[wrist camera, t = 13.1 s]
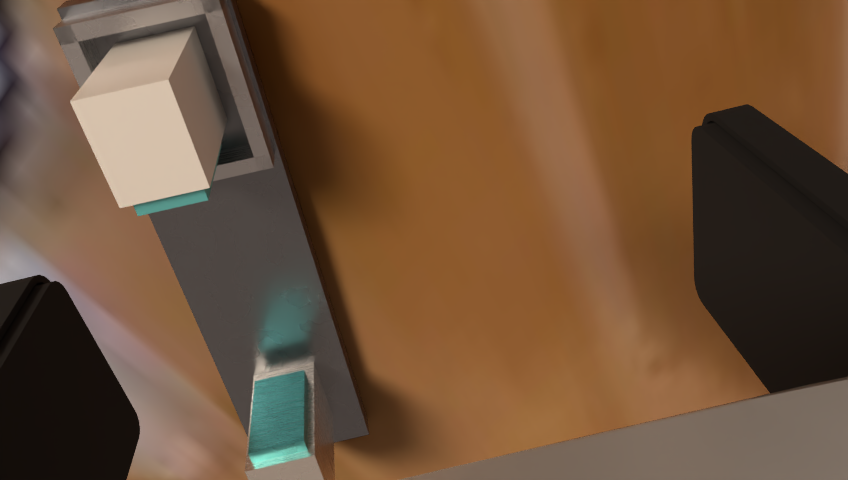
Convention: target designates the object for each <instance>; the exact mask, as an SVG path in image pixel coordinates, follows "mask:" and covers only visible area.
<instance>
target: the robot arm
mask: <svg viewBox="0 0 848 480" xmlns="http://www.w3.org/2000/svg"><path fill="white" fill-rule="evenodd" d="M692 185H693V234H694V279H695V286H696V290H697V293H698V296H699V298H700V300H701V302H702V303H703V305H704V306H705V307H706V309H707V310H708V311H709V313H710V314H711V315H712V317H713V318H714V319H715V321H716V322H717V323H718V325H719V326H720V327H721V329H722V330H723V331H724V332H725V334H726V335H727V336H728V338H729V339H730V340H731V342H732V343H733V344H734V346H735V347H736V348H737V350H738V351H739V352H740V354H741V355H742V356H743V358H744V359H745V360H746V362H747V363H748V364H749V366H750V367H751V368H752V370H753V371H754V372H755V374H756V375H757V376H758V378H759V379H760V380H761V382H762V383H763V384H764V385H765V387H766V388H767V389H768V391H769V392H770V394H766V395H762V396H757V397H753V398H749V399H744V400H740V401H736V402H731V403H727V404H723V405H718V406H714V407H710V408H705V409H701V410H697V411H692V412H688V413H684V414H679V415H675V416H671V417H666V418H662V419H658V420H653V421H649V422H645V423H640V424H636V425H632V426H627V427H623V428H619V429H614V430H610V431H606V432H601V433H597V434H593V435H588V436H584V437H580V438H576V439H571V440H567V441H563V442H558V443H554V444H550V445H546V446H541V447H537V448H533V449H529V450H524V451H520V452H516V453H512V454H507V455H503V456H499V457H494V458H490V459H486V460H482V461H477V462H473V463H469V464H465V465H460V466H456V467H452V468H448V469H443V470H439V471H435V472H431V473H426V474H422V475H418V476H414V477H409V478H405V479H401V480H848V174H847V173H846V172H844V171H843V170H842V169H840V168H839V167H837V166H836V165H835V164H833V163H832V162H830V161H829V160H827V159H826V158H825V157H823V156H822V155H820V154H819V153H818V152H816V151H815V150H813V149H812V148H810V147H809V146H808V145H806V144H805V143H803V142H802V141H801V140H799V139H798V138H796V137H795V136H793V135H792V134H791V133H789V132H788V131H786V130H785V129H784V128H782V127H781V126H779V125H778V124H776V123H775V122H774V121H772V120H771V119H769V118H768V117H766V116H765V115H764V114H762V113H761V112H759V111H758V110H757V109H755V108H754V107H752V106H750V105H748V104H746V105H742V106H738V107H734V108H730V109H726V110H722V111H717V112H713V113H709V114H707V115H706V116H705V117H704V120H703V123H702V126H698V127H695V128H694V129H693V132H692ZM139 434H140V426H139V420H138V416H137V414H136V412H135V410H134V408H133V406H132V405H131V403H130V401H129V399H128V398H127V396H126V394H125V392H124V391H123V389H122V387H121V385H120V384H119V382H118V380H117V378H116V377H115V375H114V373H113V371H112V370H111V368H110V366H109V364H108V362H107V361H106V359H105V357H104V355H103V354H102V352H101V350H100V348H99V347H98V345H97V343H96V341H95V340H94V338H93V336H92V334H91V333H90V331H89V329H88V327H87V326H86V324H85V322H84V320H83V319H82V317H81V315H80V313H79V312H78V310H77V308H76V306H75V305H74V303H73V301H72V299H71V298H70V296H69V294H68V292H67V291H66V289H65V288H64V286H63V285H62V284H61V283H59V282H57V281H54V282H50V281H49V280H48V279H47V278H46V277H45V276H41V275H37V276H32V277H28V278H24V279H20V280H16V281H12V282H7V283H3V284H0V480H126V479H127V476H128V473H129V469H130V466H131V463H132V459H133V456H134V453H135V449H136V446H137V442H138V439H139Z"/></svg>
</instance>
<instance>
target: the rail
mask: <svg viewBox="0 0 848 480" xmlns="http://www.w3.org/2000/svg"><path fill="white" fill-rule="evenodd" d="M57 10H58V12H59V14H60V17H61V19H62V21H61V22H60V23H58V24H57V25H56V26H55V27H54V28H53V30H54V32H55V34H56V36H57V38H58V41H59V43H60V45H61V47H62V49H63V52H64V54H65V56H66V58H67V60H68V63H69V65H70V67H71V69H72V71H73V74H74V76H75V78H76V80H77V82H78V85H79V87H80V88H81V87H82V85H83V84H84V83H85V82H86V80H87V79H88V78H89V76H90V75H91V74H92V72H93V71H94V70H95V69H96V67H97V66H98V65H99V63H100V62H101V61H102V60H103V58H104V57H105V56H106V54H107V53H108V52H109V51H110V49H111V48H112V47H113V45H114V44H116V43H120V42H125V41H130V40H134V39H139V38H143V37H148V36H152V35H157V34H161V33H166V32H170V31H175V30H179V29H184V28H188V27H193V26H195V29H196V32H197V35H198V37H199V40H200V43H201V46H202V49H203V52H204V54H205V57H206V60H207V63H208V66H209V69H210V72H211V74H212V77H213V80H214V83H215V86H216V89H217V92H218V94H219V97H220V100H221V103H222V106H223V109H224V112H225V114H226V117H227V122H226V126H225V130H224V134H223V138H222V142H221V145H222V147H221V151H220V155H219V159H218V163H217V167H216V171H215V175H214V179H213V183H212V188H211V192H210V196H209V200H207V201H203V202H198V203H194V204H189V205H185V206H181V207H176V208H172V209H167V210H163V211H158V212H154V213H150V214H149V216H150V218H151V221H152V223H153V225H154V227H155V230H156V232H157V234H158V236H159V239H160V241H161V243H162V245H163V248H164V250H165V252H166V254H167V257H168V259H169V261H170V263H171V266H172V268H173V270H174V272H175V275H176V277H177V279H178V281H179V284H180V286H181V288H182V290H183V293H184V295H185V297H186V299H187V301H188V304H189V306H190V308H191V310H192V313H193V315H194V317H195V319H196V322H197V324H198V326H199V328H200V331H201V333H202V335H203V337H204V340H205V342H206V344H207V346H208V349H209V351H210V353H211V355H212V358H213V360H214V362H215V364H216V367H217V369H218V371H219V373H220V375H221V378H222V380H223V382H224V384H225V387H226V389H227V391H228V393H229V396H230V398H231V400H232V402H233V405H234V407H235V409H236V411H237V414H238V416H239V418H240V420H241V423H242V425H243V427H244V429H245V432H246V434H247V436H248V443H247V454H246V464H245V473H246V475H247V477H248V480H335V465H334V442H338V441H342V440H347V439H351V438H355V437H360V436H364V435H368V434H369V430H368V419H367V416H366V413H365V410H364V406H363V403H362V400H361V397H360V394H359V390H358V387H357V384H356V381H355V378H354V375H353V371H352V368H351V365H350V362H349V359H348V356H347V352H346V349H345V346H344V343H343V340H342V337H341V333H340V330H339V327H338V324H337V321H336V317H335V314H334V311H333V308H332V305H331V302H330V298H329V295H328V292H327V289H326V286H325V283H324V279H323V276H322V273H321V270H320V267H319V263H318V260H317V257H316V254H315V251H314V248H313V244H312V241H311V238H310V235H309V232H308V229H307V225H306V222H305V219H304V216H303V213H302V209H301V206H300V203H299V200H298V197H297V194H296V190H295V187H294V184H293V181H292V178H291V175H290V171H289V168H288V165H287V162H286V159H285V155H284V152H283V149H282V146H281V143H280V140H279V136H278V133H277V130H276V127H275V124H274V121H273V117H272V114H271V111H270V108H269V105H268V102H267V98H266V95H265V92H264V89H263V86H262V82H261V79H260V76H259V73H258V70H257V67H256V63H255V60H254V57H253V54H252V51H251V48H250V44H249V41H248V38H247V35H246V32H245V28H244V25H243V22H242V19H241V16H240V13H239V9H238V6H237V3H236V0H69V1H66V2H64V3H63V4H62V5H61V6H60V7H58V8H57Z"/></svg>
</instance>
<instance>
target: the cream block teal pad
mask: <svg viewBox="0 0 848 480" xmlns="http://www.w3.org/2000/svg"><path fill="white" fill-rule="evenodd" d="M70 103H71V105H72V107H73V109H74V111H75V113H76V115H77V118H78V120H79V122H80V124H81V126H82V128H83V130H84V133H85V135H86V137H87V139H88V141H89V143H90V145H91V148H92V150H93V152H94V154H95V156H96V158H97V160H98V163H99V165H100V167H101V169H102V171H103V173H104V175H105V177H106V180H107V182H108V184H109V186H110V188H111V190H112V192H113V195H114V197H115V199H116V201H117V203H118V205H119V207H120V208H123V207H127V206H132V205H133V206H134V208H135V210H136V212H137V215H138V216H141V215H145V214H150V213H154V212H158V211H163V210H167V209H172V208H176V207H181V206H185V205H189V204H194V203H198V202H203V201H207V200H209V196H210V192H211V188H212V183H213V179H214V175H215V171H216V167H217V163H218V159H219V155H220V151H221V147H222V145H221V142H222V138H223V134H224V130H225V126H226V122H227V117H226V114H225V112H224V109H223V106H222V103H221V100H220V97H219V94H218V92H217V89H216V86H215V83H214V80H213V77H212V74H211V72H210V69H209V66H208V63H207V60H206V57H205V54H204V52H203V49H202V46H201V43H200V40H199V37H198V35H197V32H196V29H195V26H193V27H188V28H184V29H179V30H175V31H170V32H166V33H161V34H157V35H152V36H148V37H143V38H139V39H134V40H130V41H125V42H120V43H116V44H114V45H113V47H112V48H111V49H110V51H109V52H108V53H107V54H106V56H105V57H104V58H103V60H102V61H101V62H100V63H99V65H98V66H97V67H96V69H95V70H94V71H93V72H92V74H91V75H90V76H89V78H88V79H87V80H86V82H85V83H84V84H83V85H82V87H81V88H80V89H79V91H78V92H77V93H76V94H75V96H74V97H73V98H72V100H71V101H70Z"/></svg>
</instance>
